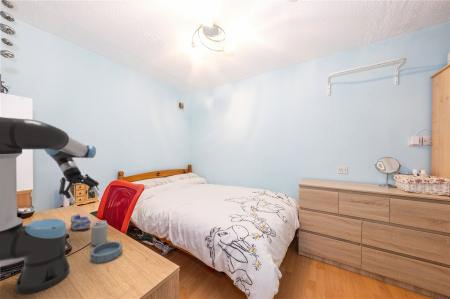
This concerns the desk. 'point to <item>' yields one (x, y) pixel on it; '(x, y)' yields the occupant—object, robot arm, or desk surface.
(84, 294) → the desk surface
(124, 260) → the desk surface
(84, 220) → the mineral
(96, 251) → the bowl
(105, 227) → the can
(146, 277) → the desk surface
